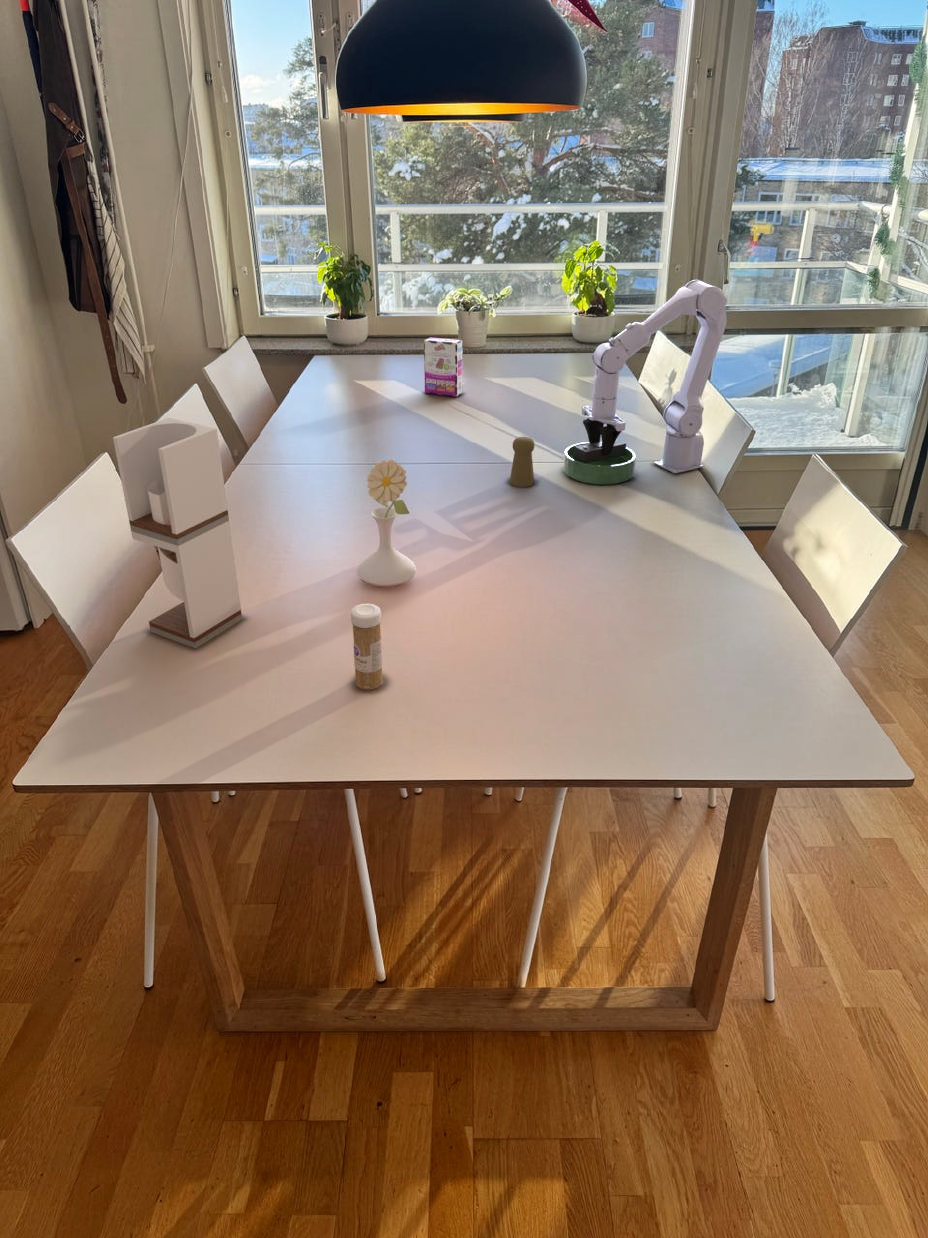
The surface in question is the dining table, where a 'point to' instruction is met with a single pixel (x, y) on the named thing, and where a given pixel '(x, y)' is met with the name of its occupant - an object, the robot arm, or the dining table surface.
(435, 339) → the candy bar box
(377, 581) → the flower in vase
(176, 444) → the white tiered shelf stand
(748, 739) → the dining table surface
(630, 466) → the bowl
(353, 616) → the sprinkles bottle
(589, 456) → the remote
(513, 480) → the cork
